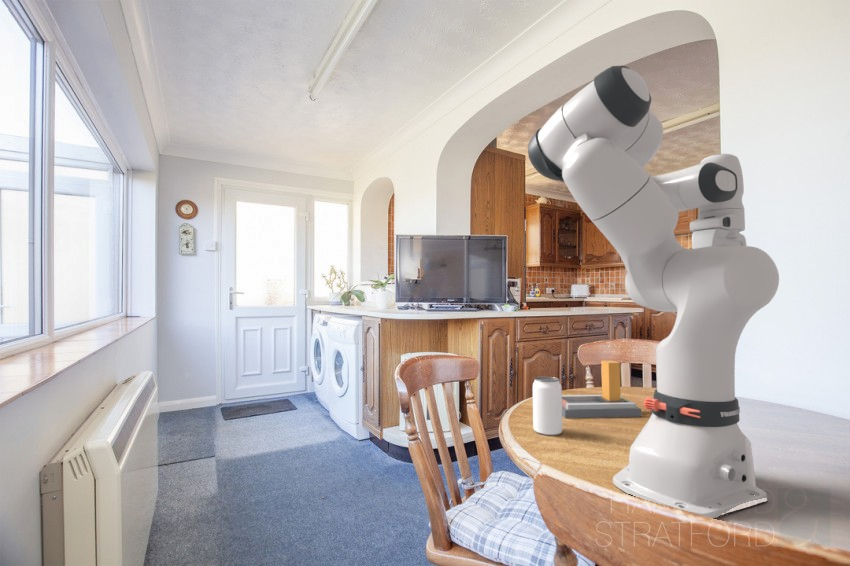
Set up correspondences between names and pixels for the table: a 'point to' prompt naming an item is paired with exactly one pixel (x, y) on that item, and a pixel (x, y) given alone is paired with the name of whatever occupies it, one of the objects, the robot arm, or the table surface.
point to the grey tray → (596, 407)
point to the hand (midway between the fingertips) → (722, 283)
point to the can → (547, 406)
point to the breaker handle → (610, 382)
